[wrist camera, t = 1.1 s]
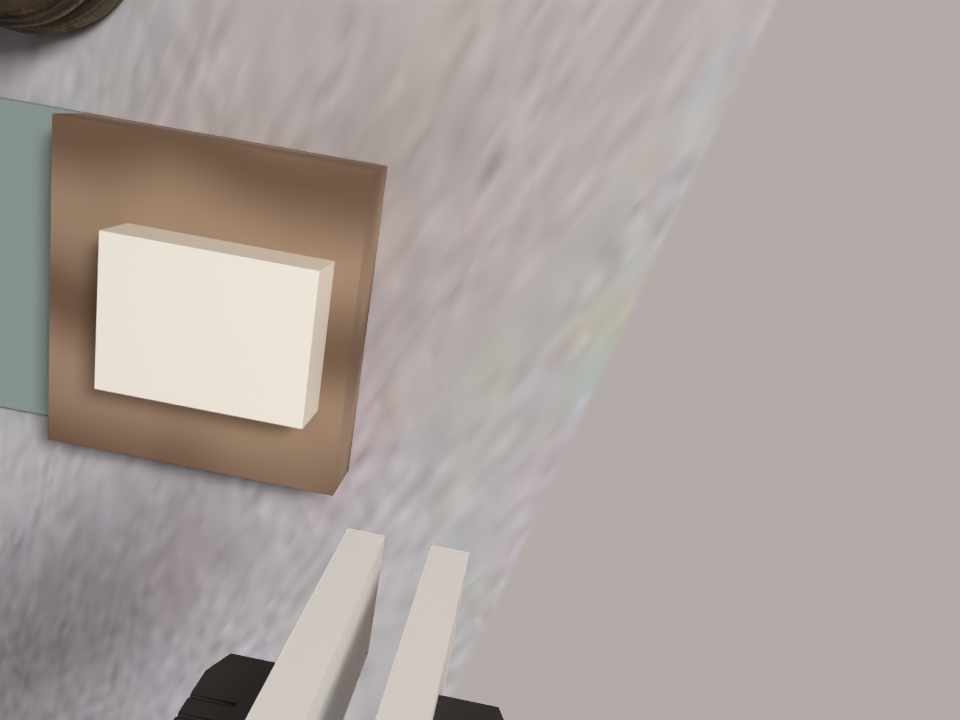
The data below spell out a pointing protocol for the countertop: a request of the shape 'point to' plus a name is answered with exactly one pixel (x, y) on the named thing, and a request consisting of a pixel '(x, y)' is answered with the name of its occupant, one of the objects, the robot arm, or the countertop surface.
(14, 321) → the mat
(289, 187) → the board
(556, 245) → the countertop surface
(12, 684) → the countertop surface
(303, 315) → the block
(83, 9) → the container
